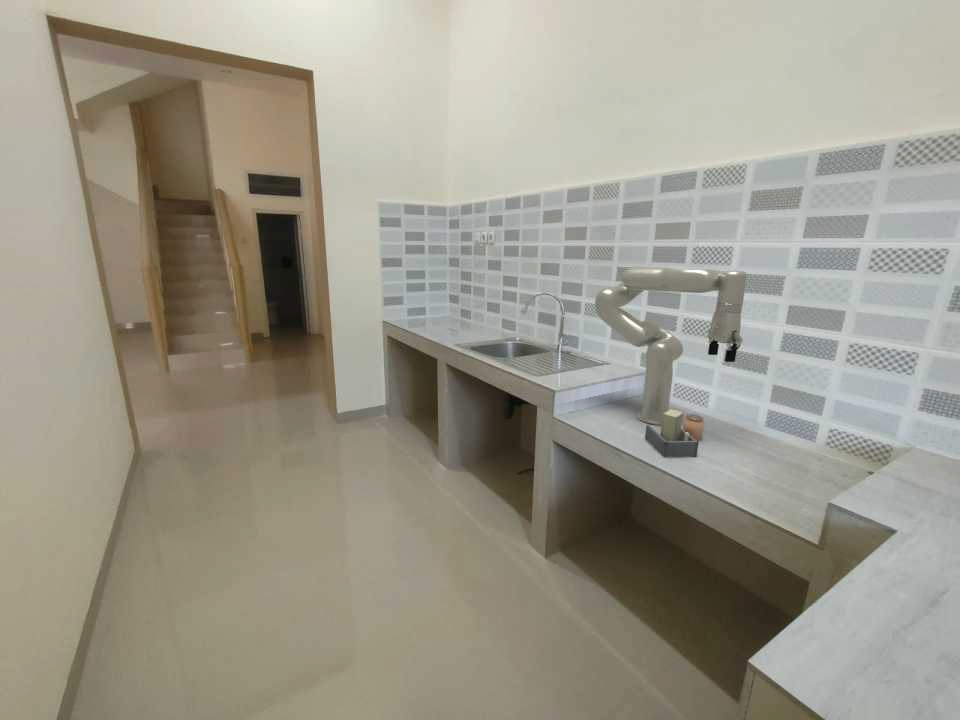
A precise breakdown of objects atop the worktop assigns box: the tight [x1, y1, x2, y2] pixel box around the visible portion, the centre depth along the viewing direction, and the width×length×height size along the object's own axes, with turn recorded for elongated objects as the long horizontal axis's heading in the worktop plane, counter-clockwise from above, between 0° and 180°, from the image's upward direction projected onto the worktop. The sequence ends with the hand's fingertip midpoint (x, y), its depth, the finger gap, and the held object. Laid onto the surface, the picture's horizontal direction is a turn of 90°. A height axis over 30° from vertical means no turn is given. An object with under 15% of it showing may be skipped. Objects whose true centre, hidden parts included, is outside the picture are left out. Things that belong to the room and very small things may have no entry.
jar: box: [682, 414, 705, 442], centre depth 146 cm, size 6×6×8 cm
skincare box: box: [659, 408, 684, 441], centre depth 139 cm, size 6×4×12 cm
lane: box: [644, 424, 700, 458], centre depth 139 cm, size 14×11×5 cm
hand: (720, 358), depth 144 cm, fingers open, 9 cm apart
